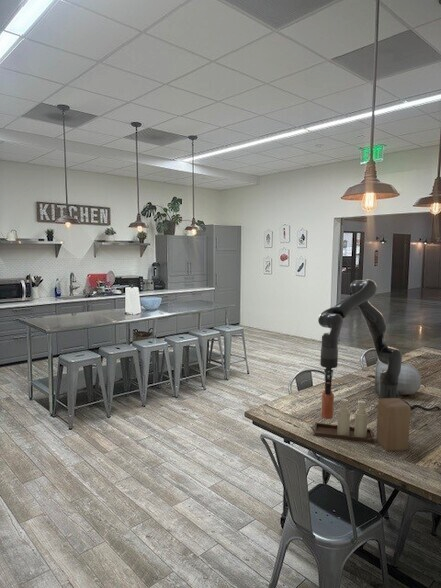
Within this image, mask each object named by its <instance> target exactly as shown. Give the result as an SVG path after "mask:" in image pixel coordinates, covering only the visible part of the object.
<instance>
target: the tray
mask: <svg viewBox="0 0 441 588" xmlns="http://www.w3.org/2000/svg"><path fill="white" fill-rule="evenodd" d="M313 436H315V437H322V438H330V439H331V438H332V439H339V440H347V441H353V442H360V443H370V444H371V443H372V444H374V443H375V437H374V434H373V429H372V428H367V437H366V438H362V437H355V436H354V426H350V430H349V436H346V435H338V434H337V424H331V423H322V422H314V432H313Z"/></svg>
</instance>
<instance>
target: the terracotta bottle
mask: <svg viewBox="0 0 441 588" xmlns="http://www.w3.org/2000/svg"><path fill="white" fill-rule="evenodd" d="M327 384H330V383H329V382H327ZM331 385H332V382H331ZM325 389H326V386H325V385H324V390H323V391H322V392H321V401H320V417H321V418H322V419H326V420H332V419H334V400H335V399H334V398H335V393H333V390H332V389H331V390H330V395H328V394H325Z"/></svg>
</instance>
